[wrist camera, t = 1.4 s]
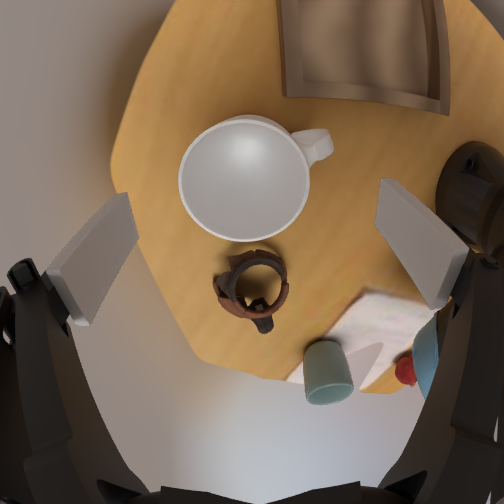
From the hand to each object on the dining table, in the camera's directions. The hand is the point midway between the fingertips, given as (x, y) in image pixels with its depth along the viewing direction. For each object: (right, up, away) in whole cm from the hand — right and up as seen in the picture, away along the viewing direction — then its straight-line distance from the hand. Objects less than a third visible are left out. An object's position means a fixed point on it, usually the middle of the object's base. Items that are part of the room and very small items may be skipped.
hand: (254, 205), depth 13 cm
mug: (+1, +9, +14) cm, 17 cm away
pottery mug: (0, -6, +24) cm, 25 cm away
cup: (+12, -19, +33) cm, 40 cm away
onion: (+33, -25, +37) cm, 55 cm away
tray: (+11, +21, +6) cm, 25 cm away
